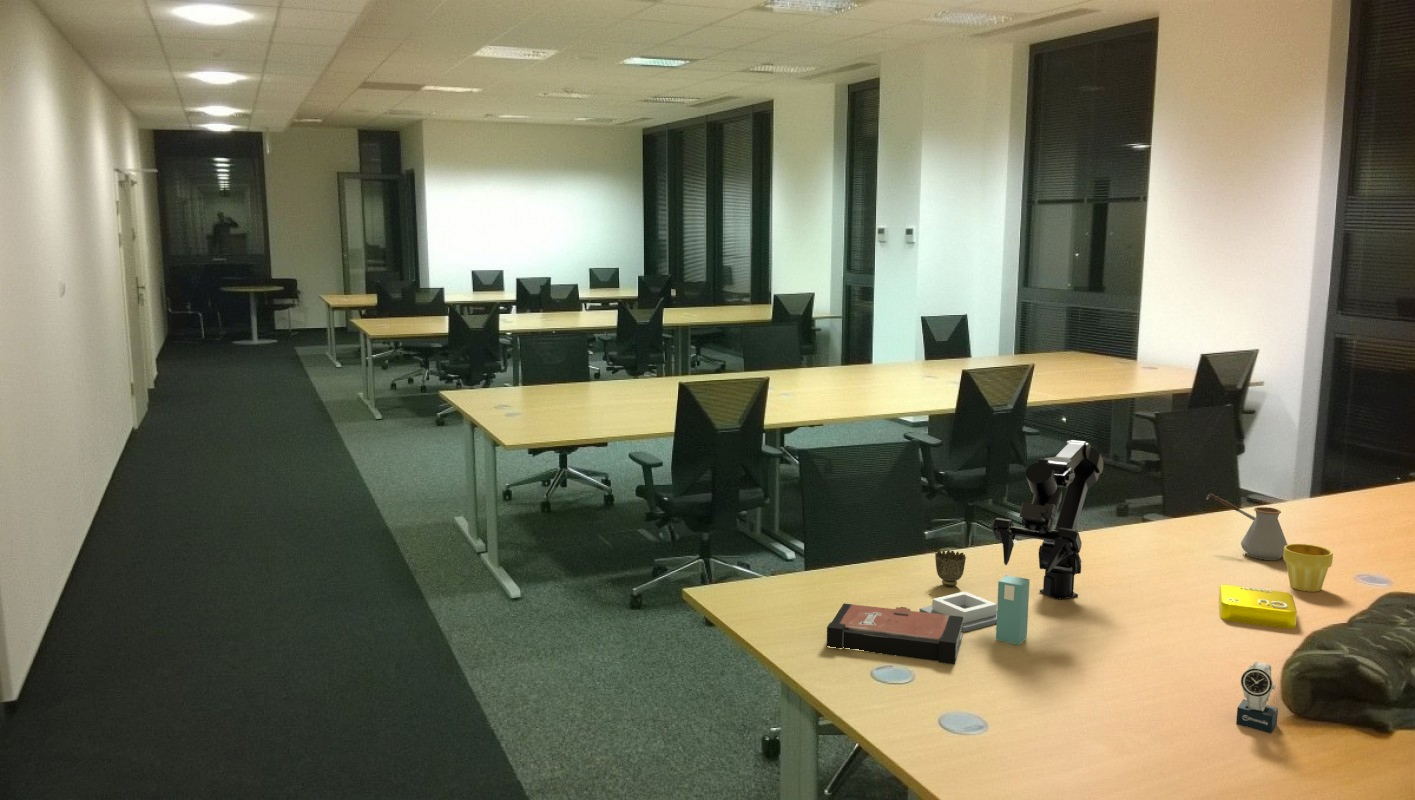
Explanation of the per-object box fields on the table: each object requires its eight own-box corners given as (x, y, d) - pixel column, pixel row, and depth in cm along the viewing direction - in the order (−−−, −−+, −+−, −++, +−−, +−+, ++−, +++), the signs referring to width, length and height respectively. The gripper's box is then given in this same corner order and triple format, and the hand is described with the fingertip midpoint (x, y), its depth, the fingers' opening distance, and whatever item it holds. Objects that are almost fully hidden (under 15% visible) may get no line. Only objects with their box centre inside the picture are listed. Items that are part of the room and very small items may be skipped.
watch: (1233, 728, 178) (1238, 668, 176) (1244, 712, 184) (1249, 653, 183) (1269, 737, 175) (1274, 676, 173) (1279, 721, 181) (1284, 661, 179)
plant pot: (1283, 591, 248) (1287, 552, 247) (1278, 579, 258) (1281, 541, 257) (1333, 597, 245) (1336, 557, 243) (1325, 584, 254) (1329, 545, 253)
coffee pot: (1293, 556, 277) (1298, 502, 275) (1280, 565, 269) (1285, 509, 267) (1210, 540, 292) (1214, 489, 290) (1195, 548, 284) (1199, 496, 282)
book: (963, 635, 222) (964, 613, 221) (954, 666, 206) (955, 642, 205) (844, 621, 230) (844, 600, 230) (826, 650, 214) (827, 627, 213)
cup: (965, 591, 249) (966, 559, 248) (934, 589, 250) (935, 557, 249) (964, 581, 256) (965, 550, 255) (933, 579, 258) (934, 549, 256)
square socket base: (963, 601, 242) (964, 587, 241) (1009, 620, 230) (1010, 605, 229) (919, 612, 234) (919, 597, 234) (964, 632, 223) (964, 616, 222)
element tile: (1290, 610, 237) (1292, 590, 236) (1296, 631, 224) (1298, 610, 223) (1218, 600, 243) (1219, 581, 243) (1219, 621, 230) (1221, 601, 229)
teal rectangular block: (1003, 632, 222) (1006, 574, 220) (1026, 637, 219) (1029, 579, 218) (995, 640, 218) (997, 581, 216) (1018, 645, 215) (1021, 586, 213)
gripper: (995, 482, 231) (976, 541, 223) (1080, 494, 220) (1063, 556, 213) (1006, 509, 238) (987, 567, 231) (1088, 521, 227) (1072, 582, 220)
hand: (1026, 567), depth 223 cm, fingers open, 9 cm apart
